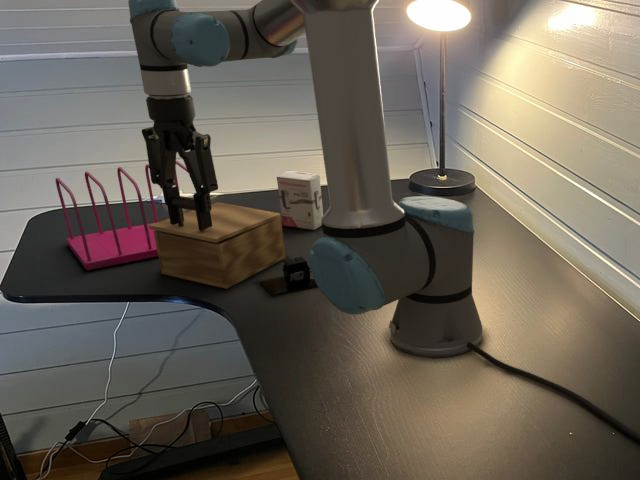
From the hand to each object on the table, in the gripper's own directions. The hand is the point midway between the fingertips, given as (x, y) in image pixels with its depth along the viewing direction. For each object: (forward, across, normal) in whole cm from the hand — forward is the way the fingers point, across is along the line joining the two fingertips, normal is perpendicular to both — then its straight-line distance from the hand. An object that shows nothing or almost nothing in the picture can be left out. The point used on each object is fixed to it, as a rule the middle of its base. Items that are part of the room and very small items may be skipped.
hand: (191, 225), depth 136 cm
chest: (+11, 0, -7) cm, 13 cm away
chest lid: (+2, 0, -7) cm, 7 cm away
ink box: (+11, +1, -34) cm, 36 cm away
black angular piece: (+11, -18, -6) cm, 22 cm away
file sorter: (+11, +23, -8) cm, 26 cm away
